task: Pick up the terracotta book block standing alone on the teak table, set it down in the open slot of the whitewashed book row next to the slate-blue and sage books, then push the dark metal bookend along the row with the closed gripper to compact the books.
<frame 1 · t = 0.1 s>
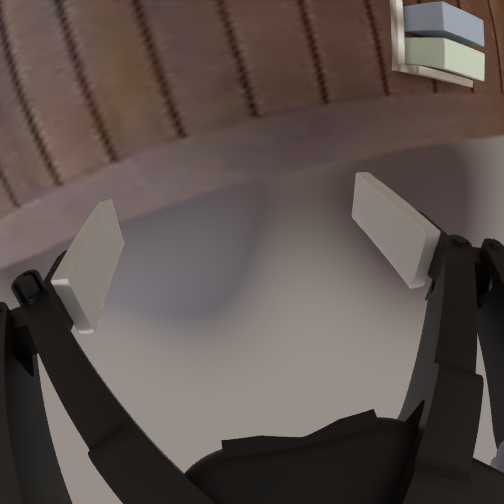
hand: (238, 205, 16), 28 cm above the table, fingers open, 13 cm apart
book sage: (424, 55, 35), on the table
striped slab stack: (423, 12, 30), on the table
book slate: (423, 25, 32), on the table
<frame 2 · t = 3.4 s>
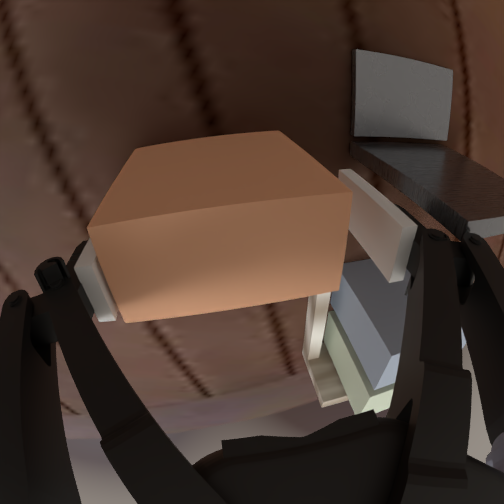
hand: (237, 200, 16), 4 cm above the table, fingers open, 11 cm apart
book sage: (364, 317, 30), on the table
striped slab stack: (381, 255, 26), on the table
bookend: (458, 126, 13), point 6 cm above the table, slide at 0.1 cm, touching hand
book rust: (210, 170, 19), on the table, touching gripper
book slate: (375, 276, 27), on the table
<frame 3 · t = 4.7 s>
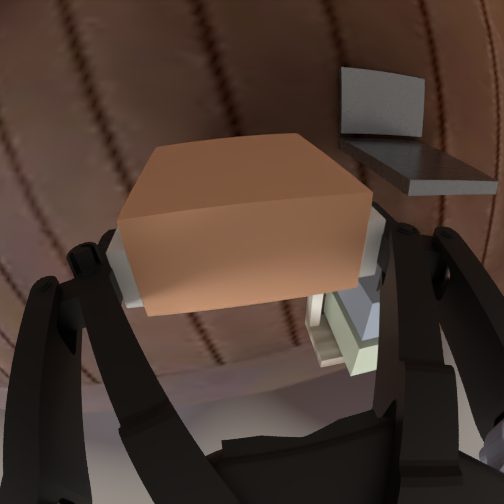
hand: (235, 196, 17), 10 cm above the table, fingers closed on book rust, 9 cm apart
book sage: (359, 292, 35), on the table
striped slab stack: (370, 233, 31), on the table
bookend: (418, 121, 19), point 6 cm above the table, slide at 0.0 cm
book rust: (229, 170, 19), point 6 cm above the table, touching gripper
book slate: (366, 253, 32), on the table
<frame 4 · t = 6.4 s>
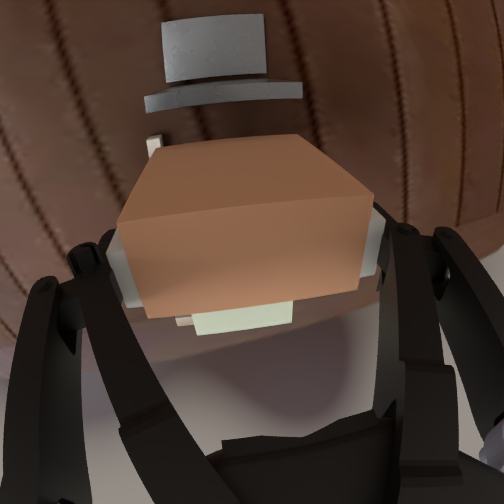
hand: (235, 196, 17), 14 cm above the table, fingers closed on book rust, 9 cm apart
book sage: (232, 250, 35), on the table
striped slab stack: (225, 183, 30), on the table
bookend: (216, 48, 18), point 6 cm above the table, slide at 0.0 cm
book rust: (229, 171, 19), point 10 cm above the table, touching gripper
when the fingers open (4 cm above the table, at t = 8.5 s): book rust stays where it is, on the table.
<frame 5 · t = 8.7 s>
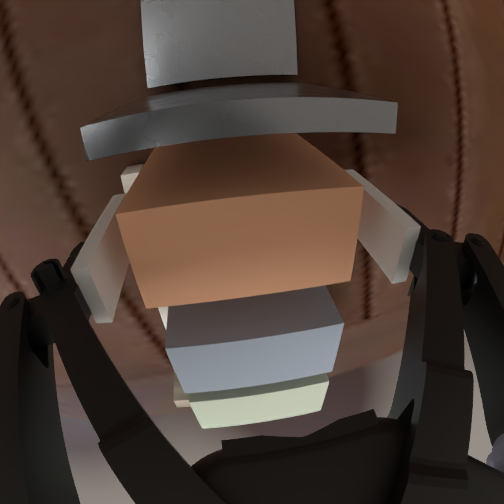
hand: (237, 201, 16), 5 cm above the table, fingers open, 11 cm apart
book sage: (243, 310, 27), on the table
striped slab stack: (235, 231, 22), on the table
bookend: (226, 30, 10), point 6 cm above the table, slide at 0.0 cm
book rust: (227, 169, 20), on the table
book slate: (238, 258, 24), on the table
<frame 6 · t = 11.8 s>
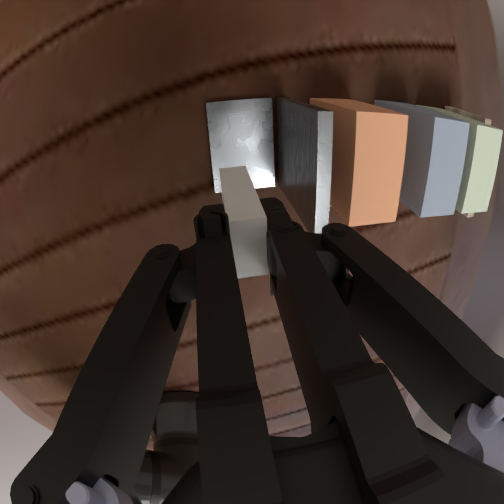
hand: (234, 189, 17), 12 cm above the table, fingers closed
book sage: (426, 142, 30), on the table
bookend: (259, 159, 23), point 6 cm above the table, slide at 0.0 cm
book rust: (330, 140, 29), on the table
book slate: (389, 139, 30), on the table
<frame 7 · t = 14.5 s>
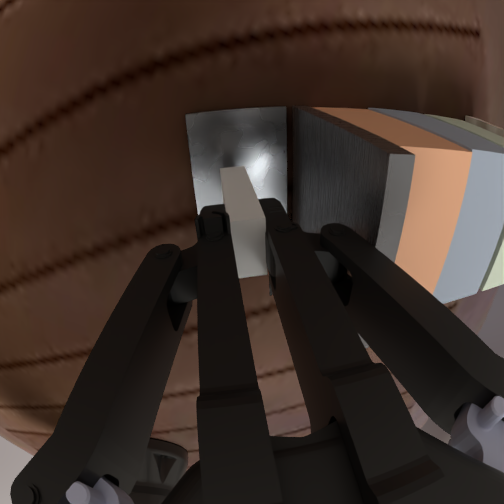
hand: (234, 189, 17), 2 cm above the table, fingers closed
book sage: (437, 168, 21), on the table
bookend: (267, 212, 15), point 6 cm above the table, slide at 5.8 cm, touching book rust, hand
book rust: (336, 170, 20), on the table, touching book slate, bookend
book slate: (389, 167, 21), on the table, touching book rust
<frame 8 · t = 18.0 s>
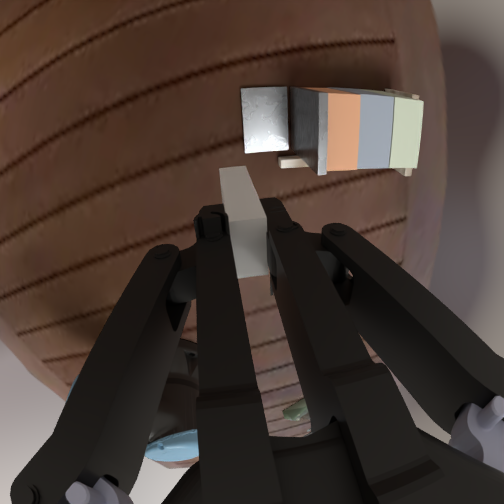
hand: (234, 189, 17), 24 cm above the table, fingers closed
potted plant: (326, 402, 86), on the table
book sage: (369, 118, 40), on the table
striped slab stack: (318, 117, 39), on the table
bookend: (280, 125, 33), point 6 cm above the table, slide at 6.3 cm
book rust: (312, 118, 39), on the table, touching book slate
book slate: (341, 117, 39), on the table, touching book rust
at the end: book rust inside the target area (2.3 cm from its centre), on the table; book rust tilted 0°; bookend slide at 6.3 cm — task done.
